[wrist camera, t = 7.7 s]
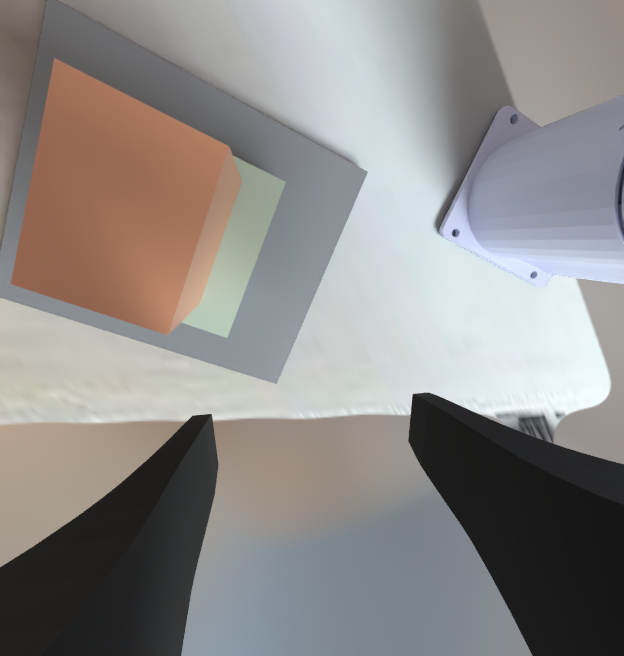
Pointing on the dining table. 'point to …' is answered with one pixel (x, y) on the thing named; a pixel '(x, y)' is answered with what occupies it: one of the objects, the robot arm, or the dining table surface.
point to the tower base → (247, 142)
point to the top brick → (122, 205)
